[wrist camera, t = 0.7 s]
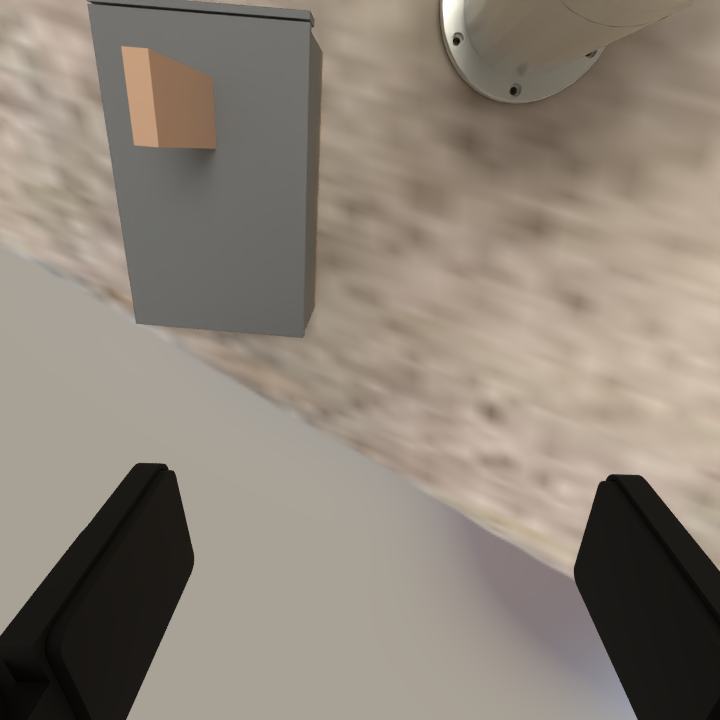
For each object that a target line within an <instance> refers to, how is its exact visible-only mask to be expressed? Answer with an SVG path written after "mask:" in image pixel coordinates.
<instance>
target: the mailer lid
mask: <svg viewBox="0 0 720 720" xmlns="http://www.w3.org/2000/svg"><path fill="white" fill-rule="evenodd" d="M87 1H89V2H90V3H92V4H88V11H89V17H90V24H91V30H92V37H93V44H94V50H95V57H96V63H97V70H98V76H99V83H100V89H101V96H102V103H103V109H104V116H105V122H106V129H107V135H108V142H109V149H110V155H111V162H112V168H113V175H114V181H115V188H116V195H117V201H118V208H119V214H120V221H121V227H122V234H123V240H124V247H125V254H126V260H127V267H128V273H129V280H130V286H131V293H132V300H133V306H134V313H135V319H136V324H146V325H158V326H170V327H181V328H193V329H205V330H217V331H229V332H241V333H253V334H265V335H277V336H289V337H301V338H303V337H304V327H305V282H306V238H307V194H308V150H309V106H310V61H311V27H314V18H313V16H312V14H311V11H307V10H295V9H283V8H271V7H258V6H246V5H234V4H222V3H210V2H198V1H186V0H87Z"/></svg>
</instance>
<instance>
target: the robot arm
mask: <svg viewBox="0 0 720 720" xmlns="http://www.w3.org/2000/svg"><path fill="white" fill-rule="evenodd" d="M697 1H698V0H440V26H441V31H442V36H443V41H444V45H445V48H446V50H447V53H448V56H449V58H450V61H451V62H452V64H453V66H454V67H455V69H456V71H457V72H458V74H459V75H460V76H461V78H462V79H463V80H464V81H465V82H466V83H467V84H468V85H469V86H470V87H471V88H472V89H474V90H475V91H477V92H478V93H480V94H481V95H483V96H485V97H487V98H490V99H493V100H495V101H498V102H504V103H511V104H519V103H530V102H534V101H538V100H541V99H544V98H547V97H549V96H552V95H554V94H557V93H559V92H560V91H562V90H563V89H565V88H567V87H568V86H570V85H571V84H573V83H574V82H575V81H576V80H578V79H579V78H580V77H581V76H582V75H583V74H584V73H586V72H587V71H588V70H589V69H590V67H591V66H592V65H593V64H594V63H595V62H596V61H597V59H598V58H599V57H600V55H601V54H602V52H603V51H604V49H605V47H606V46H607V45H608V44H610V43H612V42H614V41H617V40H619V39H621V38H623V37H625V36H627V35H629V34H631V33H634V32H636V31H638V30H640V29H642V28H644V27H646V26H649V25H651V24H653V23H655V22H657V21H659V20H661V19H663V18H665V17H667V16H669V15H671V14H673V13H675V12H677V11H679V10H681V9H683V8H685V7H687V6H690V5H691V4H693V3H695V2H697ZM455 38H457V39H458V40H459V45H458V46H455V45H454V44H453V39H455ZM587 54H588V56H587V57H586V56H585V55H587ZM511 88H515V94H514V95H511V94H510V89H511ZM193 565H194V553H193V548H192V544H191V540H190V535H189V531H188V527H187V522H186V518H185V513H184V510H183V505H182V500H181V496H180V492H179V488H178V483H177V479H176V475H175V472H174V471H172V470H168V467H167V466H166V464H159V463H138V464H136V465H135V466H134V467H133V468H132V469H131V470H130V472H129V473H128V474H127V476H126V477H125V478H124V480H123V481H122V482H121V483H120V485H119V486H118V487H117V488H116V490H115V491H114V493H113V494H112V495H111V496H110V497H109V499H108V500H107V501H106V503H105V504H104V505H103V506H102V508H101V509H100V510H99V512H98V513H97V514H96V516H95V517H94V518H93V519H92V521H91V522H90V523H89V525H88V526H87V527H86V528H85V529H84V530H83V531H82V532H81V533H80V534H79V536H78V537H77V538H76V540H75V541H74V542H73V544H72V545H71V546H70V547H69V549H68V550H67V551H66V553H65V554H64V555H63V556H62V557H61V559H60V560H59V562H58V563H57V564H56V565H55V566H54V568H53V569H52V570H51V572H50V573H49V574H48V576H47V577H46V578H45V579H44V581H43V582H42V583H41V584H40V586H39V587H38V588H37V590H36V591H35V592H34V593H33V595H32V596H31V597H30V599H29V600H28V601H27V602H26V604H25V605H24V606H23V607H22V609H21V610H20V611H19V613H18V614H17V615H16V617H15V618H14V619H13V620H12V622H11V623H10V624H9V625H8V627H7V628H6V629H5V631H4V632H3V633H2V634H1V636H0V720H126V719H127V716H128V714H129V712H130V710H131V707H132V705H133V703H134V701H135V698H136V696H137V694H138V691H139V689H140V687H141V685H142V683H143V680H144V678H145V676H146V674H147V671H148V669H149V667H150V665H151V662H152V660H153V658H154V656H155V653H156V651H157V649H158V647H159V644H160V642H161V640H162V638H163V635H164V633H165V631H166V629H167V626H168V624H169V622H170V620H171V617H172V615H173V613H174V611H175V608H176V606H177V604H178V602H179V599H180V597H181V595H182V593H183V590H184V588H185V586H186V583H187V581H188V579H189V577H190V575H191V572H192V569H193ZM574 578H575V582H576V585H577V587H578V589H579V592H580V594H581V596H582V598H583V600H584V602H585V605H586V607H587V609H588V611H589V614H590V616H591V618H592V620H593V622H594V624H595V627H596V629H597V631H598V633H599V636H600V638H601V640H602V642H603V644H604V646H605V649H606V651H607V653H608V655H609V657H610V660H611V662H612V664H613V666H614V668H615V671H616V673H617V675H618V677H619V679H620V682H621V684H622V686H623V688H624V690H625V692H626V695H627V697H628V699H629V701H630V704H631V706H632V708H633V710H634V712H635V715H636V717H637V719H638V720H720V571H719V570H718V569H717V567H716V566H715V565H714V564H713V562H712V561H711V560H710V559H709V557H708V556H707V555H706V554H705V553H704V551H703V550H702V549H701V548H700V546H699V545H698V544H697V543H696V541H695V540H694V539H693V538H692V536H691V535H690V534H689V533H688V532H687V530H686V529H685V528H684V527H683V525H682V524H681V523H680V522H679V520H678V519H677V518H676V517H675V516H674V514H673V513H672V512H671V511H670V509H669V508H668V507H667V506H666V504H665V503H664V502H663V501H662V499H661V498H660V497H659V496H658V495H657V493H656V492H655V491H654V490H653V488H652V487H651V486H650V485H649V483H648V482H647V481H646V480H645V479H644V478H643V477H642V476H640V475H618V474H612V475H609V476H608V477H607V479H606V481H601V482H600V483H599V485H598V488H597V492H596V495H595V498H594V502H593V505H592V509H591V512H590V515H589V519H588V522H587V525H586V529H585V532H584V536H583V539H582V542H581V546H580V549H579V552H578V556H577V559H576V563H575V566H574Z"/></svg>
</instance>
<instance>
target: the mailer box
mask: <svg viewBox="0 0 720 720" xmlns="http://www.w3.org/2000/svg"><path fill="white" fill-rule="evenodd" d="M322 62H323V52H322V50H321V49H320V47H319V45H318V43H317V41H316V40H315V38H314V36H313V34H312V32H311V61H310V106H309V150H308V194H307V238H306V282H305V327H304V331H305V329H306V326H307V324H308V322H309V319H310V317H311V314H312V312H313V309H314V307H315V278H316V247H317V216H318V185H319V154H320V123H321V93H322Z"/></svg>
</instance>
